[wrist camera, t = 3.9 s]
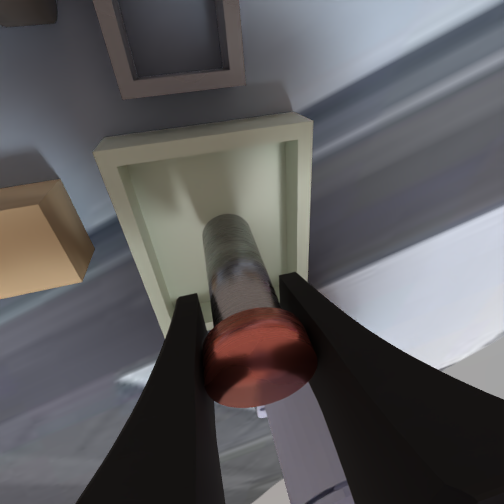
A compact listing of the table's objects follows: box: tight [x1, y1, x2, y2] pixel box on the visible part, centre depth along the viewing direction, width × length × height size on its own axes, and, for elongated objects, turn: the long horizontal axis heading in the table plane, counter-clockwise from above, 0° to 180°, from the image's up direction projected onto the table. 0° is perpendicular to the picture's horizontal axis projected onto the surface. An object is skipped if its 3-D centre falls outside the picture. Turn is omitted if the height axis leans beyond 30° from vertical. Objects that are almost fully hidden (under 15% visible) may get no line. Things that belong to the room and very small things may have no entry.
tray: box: [92, 112, 313, 338], centre depth 14 cm, size 10×8×2 cm
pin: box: [202, 214, 318, 408], centre depth 10 cm, size 3×3×7 cm
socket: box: [93, 0, 246, 100], centre depth 10 cm, size 4×4×2 cm
